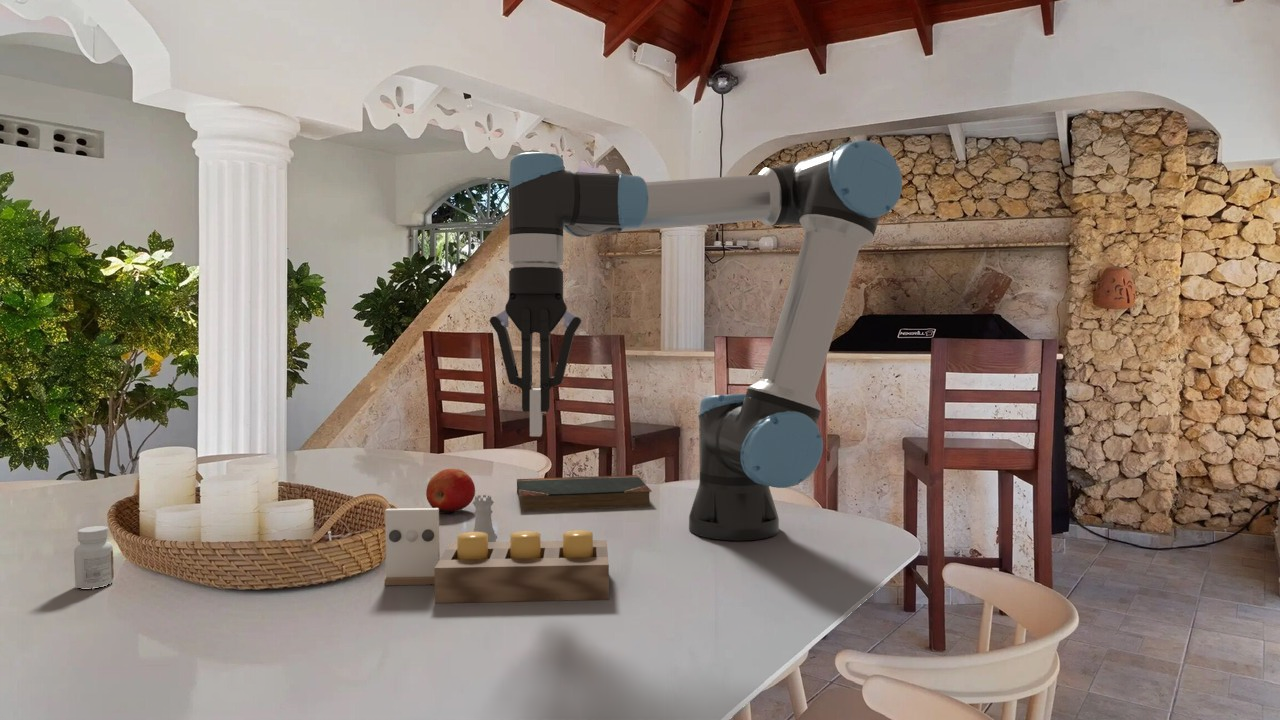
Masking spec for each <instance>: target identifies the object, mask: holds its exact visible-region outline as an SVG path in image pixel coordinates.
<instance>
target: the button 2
mask: <svg viewBox="0 0 1280 720" xmlns="http://www.w3.org/2000/svg"><path fill="white" fill-rule="evenodd" d="M593 536H594V534H593V532H592V531H589V530H586V529H585V530H583V529H574V530H568V531H565V532H564V533H562V541H563V558H581V557H593V540H594V539H593V538H594V537H593Z"/></svg>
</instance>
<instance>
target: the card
mask: <svg viewBox="0 0 1280 720" xmlns="http://www.w3.org/2000/svg"><path fill="white" fill-rule="evenodd" d="M384 517H385V518H384V519H385V525H384V526H385V527H384V528H385V575H386V576H385V578H384V586H422V585H423V586H425V585H426V586H427V584H428V585H430V584H432V585H434V586H435V571H434V568H435V566H436V565H437V563H438V561H439V560H440V558H441V556H440V512H439V508H432V507H418V508H417V507H415V508H413V507H412V508H411V507H408V508H406V507H405V508H402V507H401V508H399V507H398V508H386V509H385V510H384ZM430 586H431V585H430Z"/></svg>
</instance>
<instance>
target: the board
mask: <svg viewBox="0 0 1280 720" xmlns="http://www.w3.org/2000/svg"><path fill="white" fill-rule="evenodd" d="M540 546H541V558H524V559H511V558H510V541H496V542H488V559H467V560H458V556H457V541H456V542H449V543H448V544H447V546H446V548H445V549H444V552H442V555H441V556H440V560H439V561H438V563H437V565H436V566H435V568H434V571H435V584H434V604H446V603H447V604H448V603H449V604H451V603H453V604H454V603H496V602H497V603H499V602H503V603H504V602H505V603H506V602H542V601H544V602H545V601H546V602H548V601H549V602H550V601H552V602H553V601H591V600H592V601H595V600H596V601H598V600H599V601H602V600H609V599H610V596H609V595H610V593H609V591H610V581H609V580H610V578H609V577H610V570H609V567H610V566H609V565H610V564H609V552H608V541H607V539H598V540H597V539H596V540H594V539H593V557H581V558H563V540H540Z"/></svg>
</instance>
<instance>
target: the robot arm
mask: <svg viewBox="0 0 1280 720" xmlns="http://www.w3.org/2000/svg"><path fill="white" fill-rule="evenodd" d="M509 164H510V165H509V183H508V184H509V185H508V216H509V217H508V218H509V219H508V221H509V222H508V223H509V224H508V227H509V228H508V229H509V230H508V231H509V232H508V263H510V264H511V265H513V267H512V268H510V270H508V300H507V302H506V304H505V310H503V311H501V312H500V313H498V314H497V315H494V316H491V317H490V319H489V324H490V325H491V327H492V328H493V329H494V330H495V332H496V334H497V339H498V342H499V343H498V344H499V346H500V350H501V355H502V359H503V363H504V367H505V371H506V376H507V379H508V383H509V384H510V385H513V386H516V387H518V388H520V389H521V409H522V413H524V412H525V413H527V412H528V413H529V437H542V434H543V413H544V412H545V413H547V412H549V411H550V408H551V389H552V388H553V387H556V386H558V385H560V384H562V383H563V381H564V377H565V373H566V369H567V366H568V360H569V357H570V352H571V349H572V345H573V340H574V336H575V334H576V332H577V331H578V329H579V328H580V326H581V324H582V322H583V321H582V318H581V317H579V316H576V315H574V314H573V313H572V312H570V311H568V310H567V309H568V307H567V305H566V303H565V301H564V271H563V269H562V268H560V266H561V265H563V264H564V231H565V232H566V233H568V234H569V235H571V236H573V237H579V238H587V237H591V236H592V235H600V234H601V235H602V234H613V233H614V234H615V233H622V232H634V231H636V232H637V231H645V230H657V229H658V230H661V229H671V228H672V229H673V228H683V227H685V228H686V227H696V226H708V225H721V224H735V223H743V222H744V223H748V222H757V221H758V222H759V221H760V222H761V224H763V225H764V226H766V227H774V226H801V227H802V228H803V230H804V237H803V241H802V244H801V246H800V250H799V253H798V257H797V260H796V263H795V265H794V266H795V267H794V270H793V272H792V273H793V274H792V276H791V280H790V283H789V286H788V290H787V292H786V296H785V299H784V303H783V306H782V308H781V312H780V316H779V319H778V322H777V326H776V328H775V332H774V335H773V338H772V342H771V344H770V349H769V351H768V355H767V358H766V362H765V364H764V367H763V371H762V375H761V377H760V379H759V380H758V381H756V382H754V383H753V384H751V385H749V386H748V387H747V390H746V392H745V393H739V394H738V393H735V394H731V393H730V394H716V395H715V394H714V395H707V396H704V397H703V398H702V399H701V401H700V403H699V404H700V405H699V413H698V420H699V425H698V426H699V427H698V428H699V430H698V431H699V432H698V433H699V436H698V437H699V438H698V439H699V440H698V441H699V444H698V445H699V451H698V452H699V458H698V459H699V484H698V487H697V491H696V494H695V497H694V500H693V503H692V505H691V509H690V512H689V516H688V517H689V518H688V530H689V531H690V532H691V533H692V534H694V535H696V536H700V537H704V538H707V539H714V540H720V541H721V540H723V541H739V542H740V541H756V540H762V539H767V538H770V537H774V536H775V535H777V534H778V533H779V531H780V529H779V528H780V526H779V525H780V519H779V513H778V512H777V511H778V510H777V508H776V506H775V502H774V499H773V495H772V492H771V489H770V487H771V488H776V489H777V488H779V489H785V488H786V489H787V488H791V487H794V486H797V485H799V484H800V483H802V482H804V481H806V480H807V479H808V478H809V477H811V475H812V474H814V472H815V470H816V469H817V468H818V466H819V464H820V462H821V459H822V455H823V450H824V440H823V436H822V435H821V432H820V429H819V426H818V422H819V419H820V415H821V412H822V407H821V405H820V404H819V401H818V400H817V397H816V393H817V390H818V387H819V383H820V380H821V377H822V373H823V370H824V366H825V363H826V360H827V357H828V354H829V350H830V347H831V344H832V340H833V338H834V334H835V330H836V328H837V325H838V320H839V317H840V314H841V310H842V306H843V304H844V301H845V297H846V294H847V291H848V288H849V285H850V281H851V278H852V274H853V271H854V268H855V266H856V265H855V264H856V261H857V258H858V254H859V251H860V250H861V247H863V246H865V245H867V244H868V243H870V242H872V241H874V237H875V234H876V230H877V228H878V224H879V221H880V218H881V217H882V216H884V215H887V214H888V213H889V212H890V211H891V210H892V209H894V207H895V206H896V205H897V204H898V202H899V200H900V197H901V194H902V189H903V177H902V172H901V168H900V166H899V165H898V163H897V161H896V159H895V156H893V154H892V153H891V152H890V151H889V149H887V148H886V147H885V146H883V145H881V144H879V143H877V142H874V141H873V140H872V141H871V140H857V141H850V142H849V141H848V142H845V143H842V144H840V145H838V146H837V147H836V148H832V149H829V150H827V151H824V152H821V153H819V154H815V155H811V156H810V157H807V158H805V159H802V160H798V161H796V162H793V163H790V164H785V165H782V166H776V167H775V166H774V167H764V168H762V169H761V170H760V172H758V173H757V174H752V175H749V174H748V175H736V176H720V177H719V176H718V177H704V178H703V177H702V178H691V179H689V178H688V179H677V180H676V179H674V180H660V181H645V179H644V178H643V177H641V176H639V175H631V174H625V173H623V172H620V173H603V172H579V171H571V170H568V169H567V170H566V167H565V166H564V165H565V164H564V160H563V158H562V156H560V155H558V154H555V153H548V152H541V151H537V152H535V151H534V152H533V151H531V152H529V151H528V152H522V153H518V154H516V155H514V156H513V158H512V159H511V160H510V163H509ZM509 319H510V320H511V321H512V322H513V324H514V325H515V327H516V328H517V329H518V330H519V332H521V334H520V335H521V336H520V337H521V339H520V340H521V375H519V371H518V367H517V363H516V359H515V355H514V351H513V347H512V341H511V339H510V335H509V331H508V329H507V328H508V327H509V324H510V323H509ZM562 319H564V322H563V327H564V328H566V329H565V332H564V335H563V339H562V343H561V345H560V346H561V347H560V351H559V354H558V358H557V364H556V367H555V371H554V375H553V376H552V377H551V339H552V338H551V336H552V335H551V333H552V332H553V331H554V330H555V328H556V327H557V326H558V324H559V323H560V321H561V320H562ZM533 333H538V334H539V345H540V346H539V349H540V350H539V352H540V353H539V354H540V356H539V361H540V362H539V366H540V368H539V370H540V371H539V373H540V374H539V375H540V377H539V378H540V379H539V380H540V381H539V383H540V384H539V388H538V387H537V388H536V387H535V388H534V387H532V386H533V336H534V335H533Z"/></svg>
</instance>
